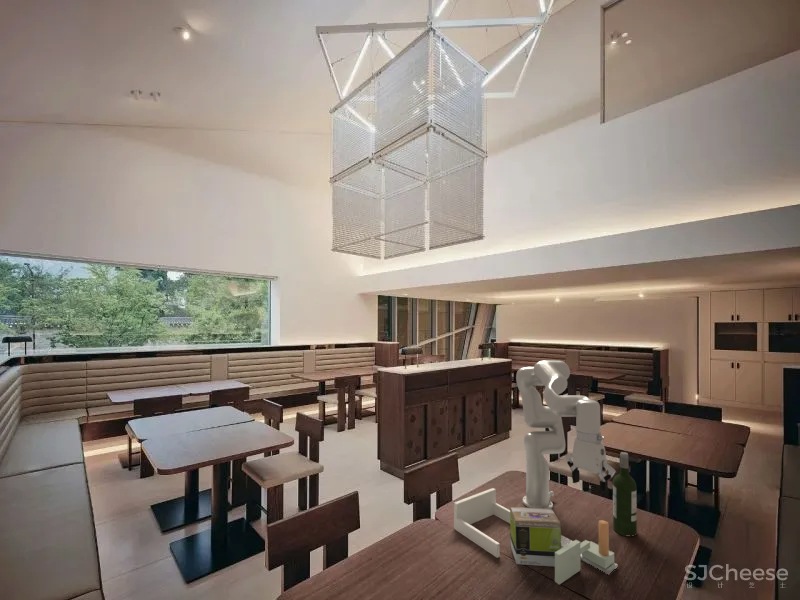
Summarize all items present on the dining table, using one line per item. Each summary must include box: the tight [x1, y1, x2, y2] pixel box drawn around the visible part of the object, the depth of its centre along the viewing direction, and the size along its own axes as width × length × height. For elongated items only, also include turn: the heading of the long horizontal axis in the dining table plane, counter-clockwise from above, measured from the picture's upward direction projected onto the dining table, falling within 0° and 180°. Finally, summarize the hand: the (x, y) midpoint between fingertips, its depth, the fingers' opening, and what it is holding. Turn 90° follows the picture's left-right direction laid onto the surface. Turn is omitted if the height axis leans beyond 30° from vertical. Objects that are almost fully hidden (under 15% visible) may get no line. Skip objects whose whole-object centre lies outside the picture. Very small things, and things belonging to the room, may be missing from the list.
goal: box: [453, 487, 510, 559], centre depth 146 cm, size 22×22×10 cm
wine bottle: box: [612, 451, 638, 536], centre depth 149 cm, size 8×8×30 cm
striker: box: [554, 519, 615, 586], centre depth 124 cm, size 24×8×14 cm, turn 125°
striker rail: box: [561, 534, 619, 576], centre depth 141 cm, size 6×40×1 cm, turn 35°
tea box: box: [509, 506, 562, 568], centre depth 132 cm, size 15×10×15 cm, turn 84°
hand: (589, 487), depth 131 cm, fingers open, 9 cm apart
